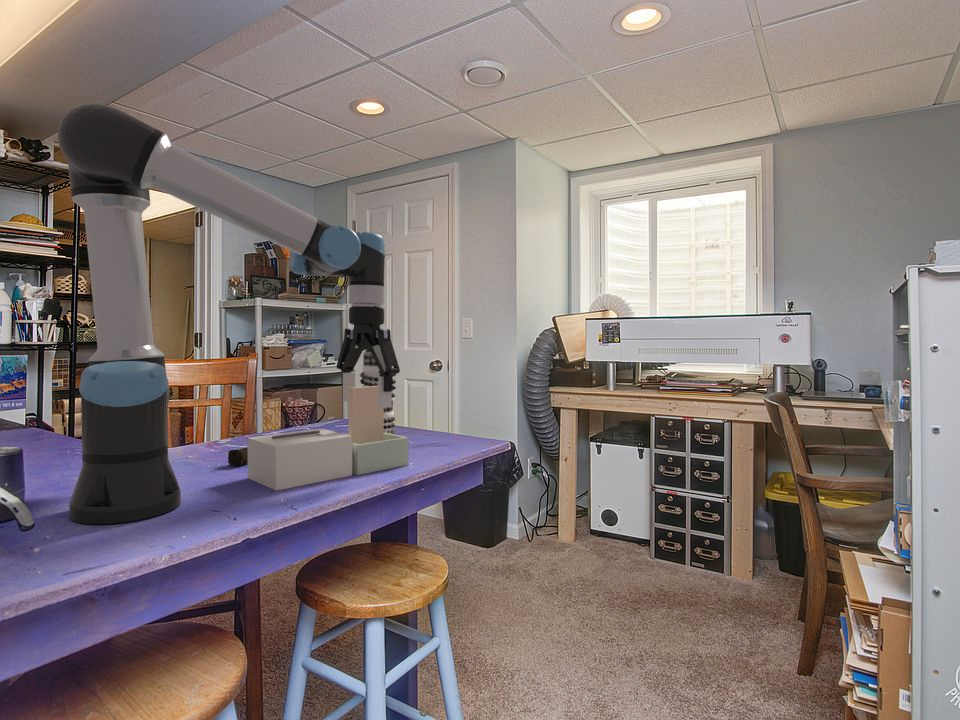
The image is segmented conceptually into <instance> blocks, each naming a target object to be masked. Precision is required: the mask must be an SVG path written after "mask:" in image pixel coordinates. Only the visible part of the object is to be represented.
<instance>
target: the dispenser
mask: <svg viewBox="0 0 960 720" xmlns="http://www.w3.org/2000/svg"><path fill="white" fill-rule="evenodd" d="M346 434H347V433H341V432H337V431H332V430H330V429H325V428H316V429H307V430H305V429H304V430H298V431H289V432H284V433H273V434H268V435H260V436H252V437H247V447H248V463H247V479H249V480H251V481H253V482H256V483H258V484H260V485H263V486H264V487H266V488H269V489H271V490H274V491H280V490H286V489H290V488H297V487H301V486H306V485H310V484H312V485H313V484H316V483H321V482H326V481H331V480H336V479H341V478H346V477H350V476H351V477H352V476H353V473H352V436H350V435H346Z"/></svg>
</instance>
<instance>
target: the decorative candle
mask: <svg viewBox="0 0 960 720" xmlns="http://www.w3.org/2000/svg"><path fill="white" fill-rule="evenodd" d="M362 355H363V357H362V358H363V362H362V363H363V364H362V372H361V373H360V374H359V376H360V377H361V379H360V381H359V382H360V384H361V385H362V386H361V387H368V386H379V375H380V373H381V372H380V370H379V368H378V366H377V364H376V362H375V360H374V358H373V355H372V353H371V352H370V351H368V350H366V349H365V350H364V351H363V352H362ZM392 368H393V367H392ZM397 374H398V373H396V374H394V376H393V377H395V376H397ZM396 383H397V380H395V379H394V378H393V384H392V385H393V386H392V387H393V389H392V407H386V408H384V432H385V433H390V434H394V435H395V434H396V430H395V429H394V427H396V424H395V423H394V421H396V418H395V417H394V416H395V415H394V413H395V411H394V400H396V395H395V394H394V393H393V392H394V391H395V390H396V388H397V387H396V386H395V384H396Z"/></svg>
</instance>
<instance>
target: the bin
mask: <svg viewBox="0 0 960 720" xmlns="http://www.w3.org/2000/svg"><path fill="white" fill-rule="evenodd" d="M345 434H346V435H349V432H348V433H345ZM409 439H410V438H409V437H407V436H403V435H398V434H395V433H394V434H390V433H385V432H384V440H383V441H377V442H371V443H364V444H356V443H352V475H353V474H354V475H355V476H356V475H357V476H360V475H364V474H371V473H374V472H379V471H384V470H389V469H395V468H398V467H405V466H409V454H410V453H409V452H410V451H409V449H410V448H409V446H410V445H409V443H410V442H409Z"/></svg>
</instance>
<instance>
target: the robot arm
mask: <svg viewBox="0 0 960 720" xmlns="http://www.w3.org/2000/svg"><path fill="white" fill-rule="evenodd" d="M58 124H59V125H58V127H57V128H58V129H57V140H58V146H59V148H60V151H61V153H62V154H63V156H64V158H65V159H66V161H67V166H68V175H69V184H70V193H71V200H72V202H73V203H75V204H76V205H77V206H78V207H80V209H81V210H82V211H83V217H84V226H85V234H86V235H85V237H86V246H87V255H88V265H89V276H90V285H91V295H92V305H93V315H94V316H93V317H94V324H95V335H96V346H97V349H96V351H95V352H94V353H93V354H91V356H90V357H89V358H88V366H87V367H86V368H84V369H83V370H82V372H81V375H80V383H79V385H78V391H79V393H80V403H81V404H80V406H81V407H80V409H81V412H80V413H81V452H82V453H81V456H82V458H81V460H82V463H81V469H80V472H79V474H78V478H77V481H76V484H75V486H74V488H73V491H72V492H73V493H72V494H71V497H70V500H69V503H68V508H69V509H68V511H69V514H68V515H69V519H70V520H71V521H73V522H75V523H79V524H86V525H89V524H90V525H108V524H109V525H110V524H121V523H128V522H135V521H140V520H145V519H149V518H153V517H157V516H160V515H164V514H166V513H169V512H170V511H171V512H172V511H173V510H175V509H177V508H178V507H179V506H180V505H181V503H182V496H181V495H182V492H181V487H180V484H179V482H178V480H177V476H176V475H175V472H174V469H173V466H172V464H171V461H170V459H169V429H168V428H169V427H168V425H169V424H168V423H169V422H168V421H169V418H168V413H169V412H168V406H169V402H170V387H169V379H168V377H167V376H168V375H167V370H166V367H167V366H166V360H165V353H163V352H162V351H161V350H160V349H158V348H157V347H156V346H155V344H154V343H155V341H154V332H153V322H152V312H151V311H152V310H151V301H150V300H151V299H150V289H149V280H148V276H149V275H148V268H147V267H148V266H147V254H146V246H145V236H144V225H143V224H144V223H143V213H144V211H146V210H147V209H148V208H149V207H150V206H151V195H150V188H155V189H156V190H158V191H161V192H162V193H163V192H164V193H166V194H167V195H170V196H173V197H174V198H176V199H178V200H180V201H183V202H184V203H187V204H189V205H191V206H193V207H195V208H198V209H200V210H202V211H203V212H206V213H208V214H211V215H213V216H215V217H217V218H219V219H221V220H224V221H225V222H227V223H230V224H232V225H234V226H237V227H239V228H240V229H243V230H245V231H247V232H249V233H251V234H253V235H256V236H257V237H260V238H262V239H264V240H266V241H269V242H271V243H273V244H275V245H277V246H279V247H281V248H284V249H286V250H287V251H289V257H288V258H289V267H290V270H291V272H292V273H293V274H295V275H301V276H302V275H303V276H305V277H310V276H318V277H337V278H339V277H340V278H348V304H349V305H351V306H349V308H348V323H349V324H350V325H353V328H345V329H344V332H343V333H344V336H343V341H342V345H341V348H340V352H339V355H338V359H337V363H336V369H337V370H340V372H341V373H342V402H344V403H349V388H354V387H356V370H355V367H356V366H357V363H358V362H359V358H360V357H361V355H362V354H363V352H364V351H366V350H368V351H370V352H371V353H372V355H373V358H374V360H375V362H376V364H377V366H378V368H379V370H380V372H381V373H380V375H379V408H386V407H392V389H393V387H392V386H393V385H392V384H393V379H394V378H393V377H395V376H394V374H399V373H400V371H401V370H400V367H399V363H398V359H397V355H396V352H395V349H394V346H393V342H392V337H391V330H390V328H381V325H384V324H385V309H384V307H382V306H383V305H384V304H385V267H386V266H385V260H386V259H385V258H386V253H385V251H386V250H385V239H384V238H383V237H382V235H380V234H378V233H375V232H369V231H367V232H366V231H365V232H363V231H357V232H355V231H354V230H353V229H351V228H349V227H347V226H344V225H333V224H330V223H328V222H325V221H323V220H321V219H319V218H317V217H315V216H313V215H312V214H310V213H307V212H305V211H303V210H301V209H300V208H298V207H296V206H294V205H291V204H290V203H288V202H286V201H284V200H283V199H280V198H278V197H277V196H274V195H272V194H270V193H269V192H266V191H264V190H263V189H261V188H258V187H257V186H255V185H253V184H251V183H249V182H247V181H245V180H243V179H242V178H239V177H237V176H235V175H233V174H231V173H229V172H227V171H226V170H224V169H221V168H219V167H218V166H215V165H213V164H211V163H210V162H208V161H206V160H204V159H202V158H200V157H198V156H196V155H194V154H192V153H191V152H188V151H186V150H185V149H183V148H180V147H178V146H177V145H175V144H173V143H172V142H171V140H170V138H169V136H168V134H167V133H165V132H163V131H162V130H159V129H157V128H155V127H153V126H152V125H150V124H148V123H147V122H144V121H143V120H140V119H138V118H136V117H135V116H133V115H130V114H128V113H126V112H125V111H123V110H121V109H118V108H116V107H114V106H110V105H106V104H101V103H86V104H81V105H78V106H75V107H74V108H72V109H70V110H69V111H67V112H66V114H64V115H63V118H62V119H61V120H60V122H59V123H58ZM392 367H393V368H392Z"/></svg>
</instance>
